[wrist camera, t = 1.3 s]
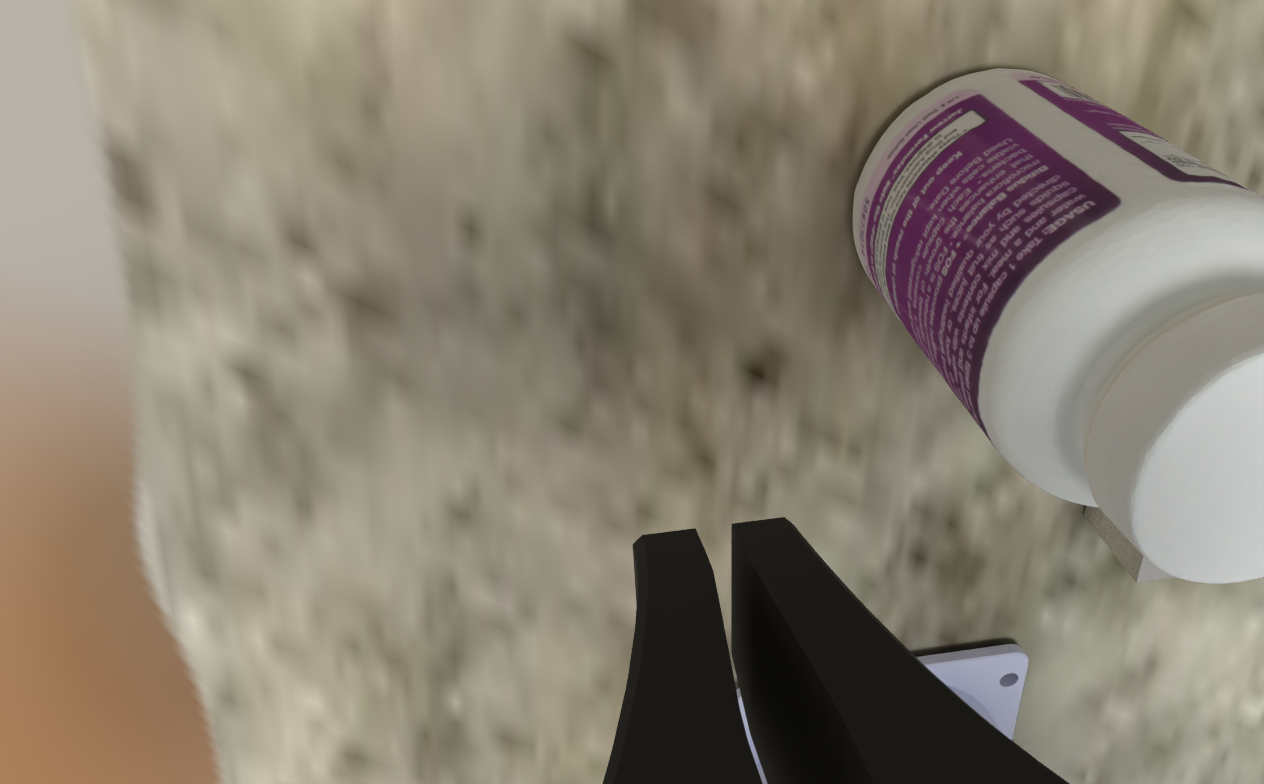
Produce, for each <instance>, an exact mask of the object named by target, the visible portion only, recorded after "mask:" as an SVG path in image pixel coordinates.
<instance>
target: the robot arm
mask: <svg viewBox="0 0 1264 784" xmlns="http://www.w3.org/2000/svg"><path fill="white" fill-rule="evenodd" d="M633 554H634V570H635V586H636V602H637V611H636V625H635V633H634V640H633V647H632V654H631V661H630V668H629V675H628V680H627V686H626V691H625V695H624V700H623V704H622V709H621V713H620V718H619V722H618V727H617V731H616V736H615V740H614V744H613V748H612V752H611V756H610V759H609V763H608V767H607V771H606V774H605V777H604V781H603V784H1069V783H1068V782H1066V781H1065V780H1064V779H1062V778H1061V777H1060V776H1058V775H1057V774H1055V773H1054V772H1053V771H1051V770H1050V769H1049V768H1047V767H1046V766H1044V765H1043V764H1042V763H1040V762H1039V761H1038V760H1036V759H1035V758H1034V757H1032V756H1031V755H1030V754H1029V753H1027V752H1026V751H1025V750H1023V749H1022V748H1021V747H1020V746H1018V745H1017V744H1016V743H1014V742H1013V741H1012V739H1013V734H1014V730H1015V725H1016V720H1017V715H1018V711H1019V706H1020V701H1021V697H1022V692H1023V687H1024V683H1025V678H1026V673H1027V668H1028V664H1029V661H1028V657H1027V655H1026V654H1025V652H1024V650H1023V649H1022V648H1021V646H1018V645H1016V644H1006V645H999V646H991V647H984V648H977V649H970V650H963V651H956V652H949V653H941V654H934V655H927V656H920V657H915V656H914V655H913V654H912V653H911V652H910V651H909V650H908V649H907V648H906V647H905V646H904V645H903V644H902V643H901V642H900V641H899V640H898V639H897V638H896V637H895V636H894V635H893V634H892V633H891V632H890V631H889V630H888V629H887V628H886V627H885V626H884V625H883V624H882V623H881V622H880V621H879V620H878V619H877V618H876V617H875V616H874V615H873V614H872V613H871V612H870V611H869V610H868V609H867V608H866V607H865V606H864V605H863V604H862V602H861V601H860V600H859V599H858V598H857V597H856V596H855V595H854V594H853V593H852V592H851V591H850V590H849V588H848V587H847V586H846V585H845V584H844V583H843V582H842V581H841V580H840V579H839V577H838V576H837V575H836V574H835V573H834V572H833V571H832V570H831V568H830V567H829V566H828V565H827V564H826V563H825V562H824V560H823V559H822V558H821V557H820V556H819V555H818V554H817V552H816V551H815V550H814V549H813V548H812V546H811V545H810V544H809V543H808V542H807V541H806V539H805V538H804V537H803V536H802V535H801V533H800V532H799V531H798V530H797V528H796V527H795V526H794V525H793V524H792V523H791V522H790V521H788V520H787V519H786V518H785V517H782V518H774V519H766V520H758V521H751V522H743V523H735V524H732V657H733V661H734V666H735V670H736V675H737V679H738V684H739V687H738V689H737V690H736V687H735V681H734V676H733V671H732V666H731V660H730V655H729V650H728V645H727V640H726V634H725V629H724V624H723V619H722V613H721V608H720V603H719V598H718V593H717V588H716V583H715V578H714V573H713V569H712V567H711V564H710V562H709V559H708V557H707V554H706V552H705V549H704V547H703V545H702V542H701V540H700V538H699V536H698V534H697V531H696V529H687V530H679V531H671V532H663V533H656V534H648V535H642V536H641V537H640V538H639V539H638V540H637V541H636V542H635V543H634V544H633Z"/></svg>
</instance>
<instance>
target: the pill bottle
mask: <svg viewBox="0 0 1264 784" xmlns="http://www.w3.org/2000/svg"><path fill="white" fill-rule="evenodd" d="M853 236H854V242H855V246H856V250H857V253H858V256H859V259H860V261H861V264H862V266H863V268H864V270H865V272H866V274H867V276H868V277H869V279H870V280H871V282H872V283H873V285H874V286H875V288H876V289H877V291H878V292H879V293H880V295H881V296H882V297H883V299H884V300H885V302H886V303H887V304H888V306H889V307H890V308H891V310H892V311H893V312H894V314H895V315H896V316H897V318H898V319H899V320H900V322H901V323H902V324H903V325H904V327H905V328H906V329H907V331H908V332H909V333H910V334H911V336H912V337H913V338H914V340H915V341H916V343H917V344H918V345H919V347H920V348H921V349H922V351H923V352H924V353H925V355H926V356H927V357H928V358H929V360H930V361H931V362H932V364H933V365H934V366H935V367H936V369H937V370H938V371H939V373H940V374H941V376H942V377H943V378H944V380H945V381H946V382H947V384H948V385H949V387H950V388H951V389H952V391H953V392H954V394H955V395H956V396H957V397H958V399H959V400H960V401H961V402H962V404H963V405H964V406H965V408H966V409H967V410H968V412H969V413H970V414H971V416H972V417H973V419H974V420H975V421H976V422H977V424H978V425H979V426H980V428H981V429H982V430H983V431H984V433H985V434H986V436H987V437H988V439H989V440H990V441H991V443H992V444H993V446H994V447H995V448H996V449H997V451H998V452H999V453H1000V454H1001V456H1002V457H1003V458H1004V459H1005V460H1006V461H1007V462H1008V463H1009V464H1010V465H1011V466H1012V467H1013V468H1014V469H1015V470H1016V471H1018V472H1019V473H1020V474H1021V475H1022V476H1023V477H1024V478H1025V479H1027V480H1028V481H1029V482H1031V483H1032V484H1034V485H1036V486H1037V487H1039V488H1041V489H1042V490H1044V491H1046V492H1047V493H1050V494H1052V495H1054V496H1056V497H1059V498H1062V499H1065V500H1067V501H1070V502H1073V503H1078V504H1082V505H1087V506H1092V507H1098V508H1100V509H1101V511H1102V512H1103V513H1104V514H1105V515H1106V516H1107V517H1108V518H1109V519H1110V520H1111V521H1112V522H1113V523H1114V525H1115V526H1116V527H1117V528H1118V529H1119V530H1120V531H1121V532H1122V533H1123V535H1124V536H1125V537H1126V538H1127V539H1128V540H1129V541H1130V542H1131V543H1132V544H1133V545H1134V546H1135V547H1136V548H1137V549H1138V551H1139V552H1140V553H1141V554H1142V555H1143V556H1144V557H1145V558H1147V559H1148V560H1149V561H1150V562H1152V563H1153V564H1154V565H1155V566H1156V567H1158V568H1159V569H1161V570H1162V571H1164V572H1166V573H1168V574H1170V575H1172V576H1174V577H1178V578H1181V579H1185V580H1188V581H1193V582H1199V583H1235V582H1241V581H1246V580H1252V579H1257V578H1261V577H1264V196H1261V195H1259V194H1257V193H1255V192H1253V191H1252V190H1251V189H1249V188H1247V187H1245V186H1244V185H1242V184H1240V183H1238V182H1237V181H1235V180H1233V179H1231V178H1230V177H1228V176H1226V175H1224V174H1222V173H1221V172H1219V171H1217V170H1215V169H1214V168H1212V167H1210V166H1208V165H1207V164H1205V163H1203V162H1201V161H1200V160H1198V159H1196V158H1195V157H1193V156H1191V155H1189V154H1188V153H1187V152H1185V151H1184V150H1182V149H1181V148H1179V147H1177V146H1175V145H1173V144H1171V143H1169V142H1168V141H1166V140H1164V139H1163V138H1161V137H1159V136H1158V135H1156V134H1154V133H1153V132H1151V131H1149V130H1148V129H1146V128H1144V127H1142V126H1140V125H1139V124H1137V123H1135V122H1134V121H1132V120H1130V119H1129V118H1127V117H1125V116H1124V115H1121V114H1119V113H1117V112H1116V111H1114V110H1112V109H1110V108H1109V107H1107V106H1105V105H1103V104H1102V103H1100V102H1098V101H1096V100H1094V99H1093V98H1091V97H1089V96H1087V95H1085V94H1083V93H1082V92H1080V91H1078V90H1076V89H1075V88H1073V87H1071V86H1068V85H1067V84H1065V83H1063V82H1061V81H1059V80H1057V79H1054V78H1052V77H1050V76H1047V75H1044V74H1041V73H1037V72H1033V71H1028V70H1021V69H1004V68H996V69H991V70H986V71H981V72H976V73H971V74H967V75H964V76H961V77H958V78H956V79H953V80H951V81H948V82H946V83H944V84H943V85H941V86H939V87H937V88H935V89H934V90H932V91H931V92H930V93H928V94H927V95H925V96H923V97H922V98H920V99H919V100H917V101H916V102H914V103H913V104H911V105H910V106H909V107H908V108H906V109H905V110H904V111H903V112H902V113H901V114H900V115H899V116H898V117H897V118H896V119H895V120H894V121H893V122H892V124H891V125H890V126H889V127H888V129H887V130H886V131H885V133H884V134H883V135H882V137H881V138H880V139H879V141H878V143H877V144H876V146H875V147H874V149H873V151H872V153H871V154H870V156H869V158H868V160H867V162H866V164H865V166H864V168H863V171H862V173H861V176H860V179H859V181H858V183H857V186H856V189H855V194H854V203H853Z"/></svg>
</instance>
